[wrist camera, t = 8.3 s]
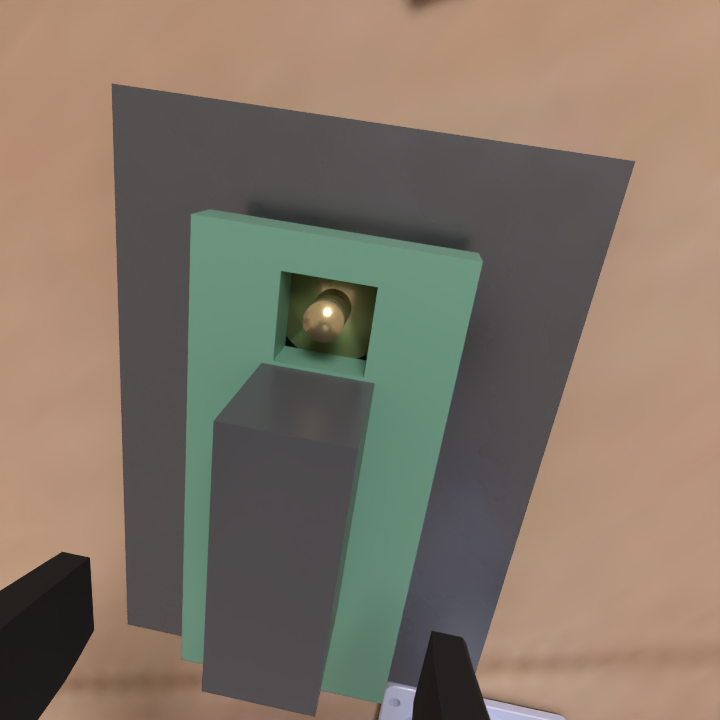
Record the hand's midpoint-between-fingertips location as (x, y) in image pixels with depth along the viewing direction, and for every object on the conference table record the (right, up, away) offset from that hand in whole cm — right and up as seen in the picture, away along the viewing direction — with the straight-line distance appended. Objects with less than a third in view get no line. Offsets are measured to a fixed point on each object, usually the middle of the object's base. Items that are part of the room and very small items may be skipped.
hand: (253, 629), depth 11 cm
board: (+1, +2, +5) cm, 6 cm away
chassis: (+1, +3, +9) cm, 9 cm away
